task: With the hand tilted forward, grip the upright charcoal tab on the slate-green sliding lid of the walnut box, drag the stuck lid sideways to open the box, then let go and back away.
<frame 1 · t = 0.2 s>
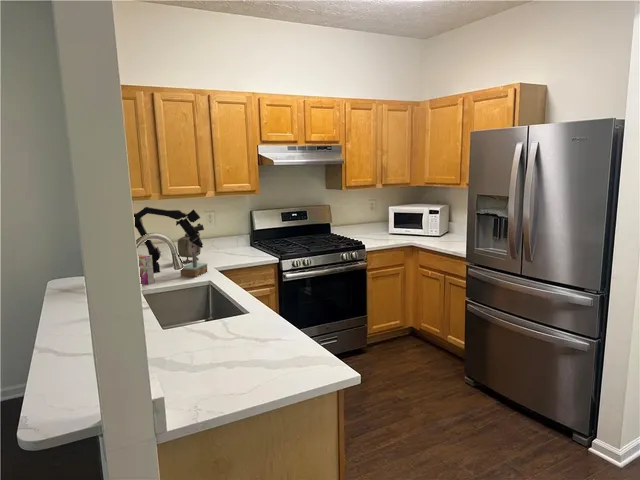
hand: (202, 246, 281), 15 cm above the countertop, tool tilted 35°, fingers open, 9 cm apart
candy bar box: (144, 283, 250), on the countertop
walnut box: (194, 274, 268), on the countertop
lid: (193, 258, 266), point 10 cm above the countertop, slide at 0.0 cm
tabletop clock: (189, 261, 307), on the countertop
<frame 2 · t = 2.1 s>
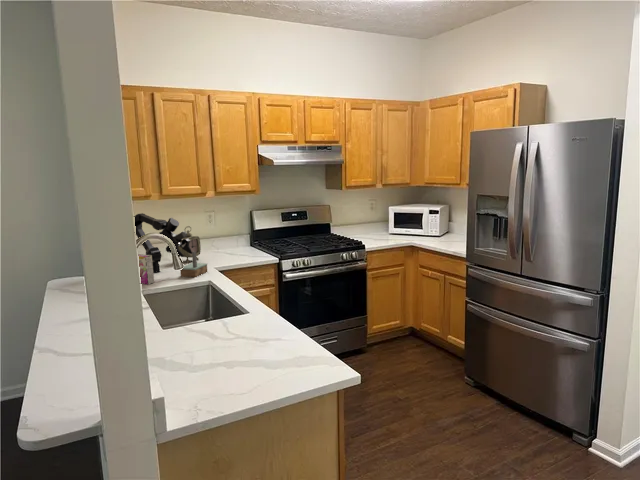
hand: (187, 255, 263), 13 cm above the countertop, tool tilted 45°, fingers open, 9 cm apart
nothing on the countertop moved.
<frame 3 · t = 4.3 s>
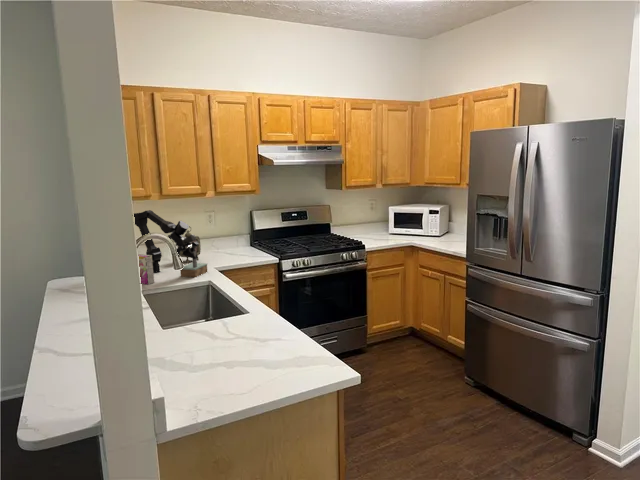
hand: (196, 258, 262), 11 cm above the countertop, tool tilted 45°, fingers closed on lid, 2 cm apart
lid: (193, 258, 266), point 10 cm above the countertop, slide at 0.0 cm, touching gripper
everything else where it was.
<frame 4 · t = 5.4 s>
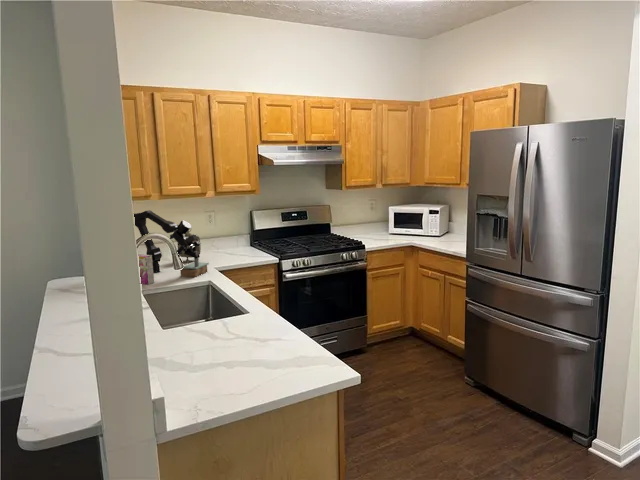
hand: (198, 257, 263), 11 cm above the countertop, tool tilted 45°, fingers closed on lid, 2 cm apart
lid: (195, 258, 268), point 10 cm above the countertop, slide at 1.9 cm, touching gripper
everything else where it was.
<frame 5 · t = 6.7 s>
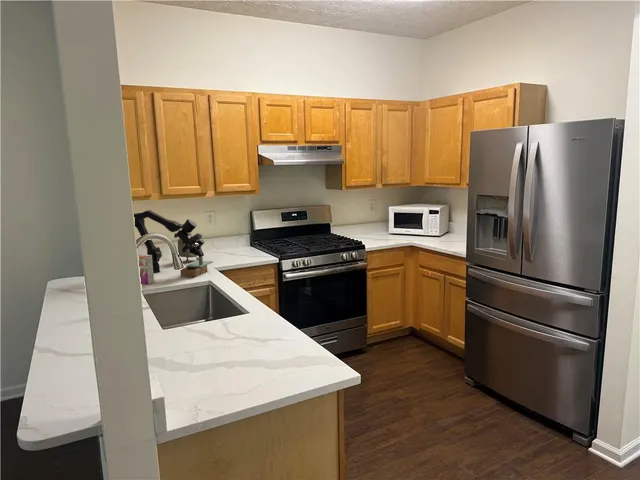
hand: (202, 256, 268), 11 cm above the countertop, tool tilted 45°, fingers closed on lid, 2 cm apart
lid: (199, 256, 273), point 10 cm above the countertop, slide at 6.9 cm, touching gripper
everything else where it was.
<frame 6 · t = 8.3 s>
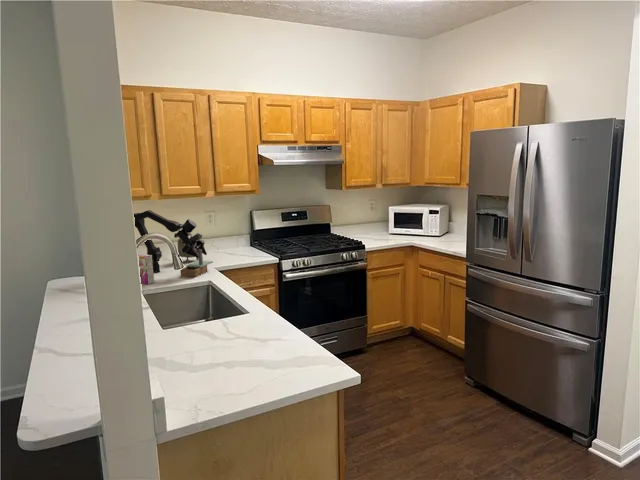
hand: (202, 256, 268), 11 cm above the countertop, tool tilted 45°, fingers open, 9 cm apart
lid: (199, 256, 273), point 10 cm above the countertop, slide at 6.9 cm
everything else where it was.
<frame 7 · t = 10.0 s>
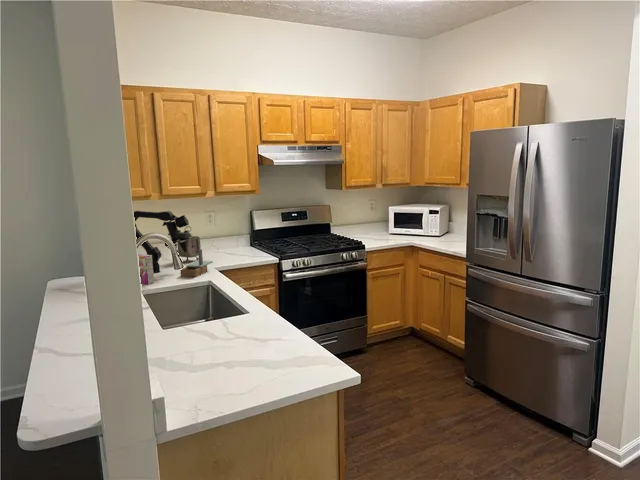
hand: (182, 253, 273), 12 cm above the countertop, tool tilted 20°, fingers open, 9 cm apart
nothing on the countertop moved.
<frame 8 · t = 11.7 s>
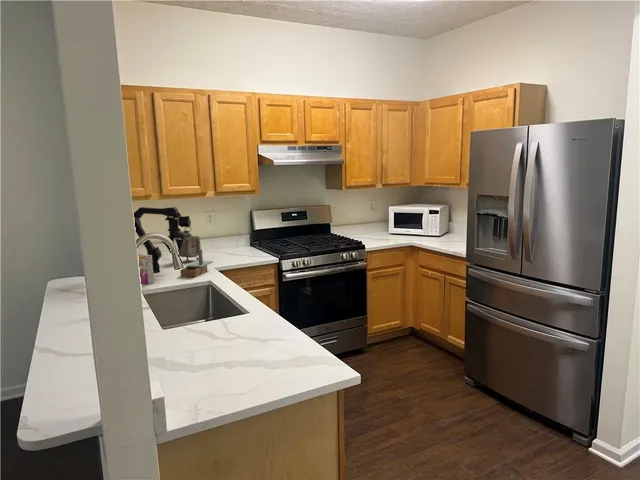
hand: (175, 251, 274), 13 cm above the countertop, tool pointing down, fingers open, 9 cm apart
nothing on the countertop moved.
at the end: lid slide at 6.9 cm; the gripper is holding nothing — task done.
